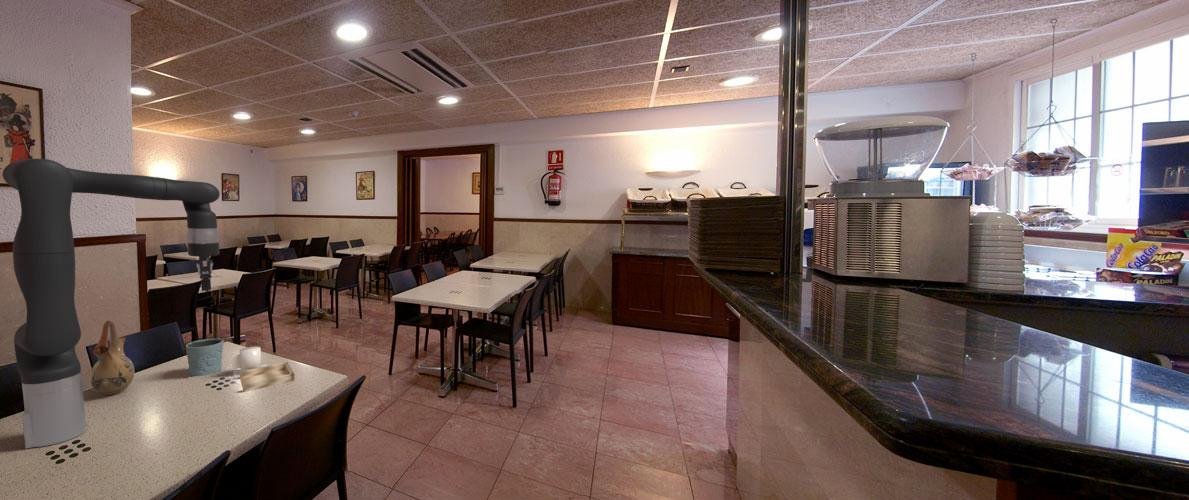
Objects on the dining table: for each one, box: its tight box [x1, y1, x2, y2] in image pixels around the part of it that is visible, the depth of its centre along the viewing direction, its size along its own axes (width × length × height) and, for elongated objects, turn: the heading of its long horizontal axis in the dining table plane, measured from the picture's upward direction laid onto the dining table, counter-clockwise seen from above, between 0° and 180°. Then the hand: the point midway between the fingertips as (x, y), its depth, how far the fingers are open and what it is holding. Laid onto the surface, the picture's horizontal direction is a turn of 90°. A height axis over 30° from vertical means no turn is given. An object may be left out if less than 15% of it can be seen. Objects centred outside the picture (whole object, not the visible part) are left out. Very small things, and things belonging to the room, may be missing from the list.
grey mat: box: [232, 363, 268, 381], centre depth 147 cm, size 10×10×1 cm
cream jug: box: [230, 346, 262, 371], centre depth 146 cm, size 8×6×9 cm
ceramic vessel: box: [89, 320, 135, 396], centre depth 128 cm, size 16×9×25 cm, turn 37°
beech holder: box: [239, 361, 295, 393], centre depth 142 cm, size 14×15×3 cm
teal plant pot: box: [185, 338, 224, 378], centre depth 146 cm, size 10×10×12 cm
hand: (206, 288), depth 131 cm, fingers open, 8 cm apart
